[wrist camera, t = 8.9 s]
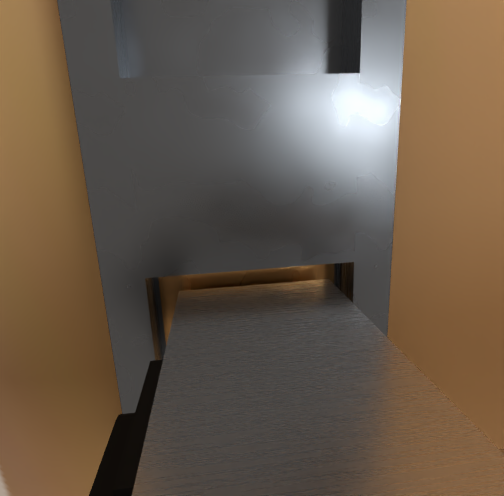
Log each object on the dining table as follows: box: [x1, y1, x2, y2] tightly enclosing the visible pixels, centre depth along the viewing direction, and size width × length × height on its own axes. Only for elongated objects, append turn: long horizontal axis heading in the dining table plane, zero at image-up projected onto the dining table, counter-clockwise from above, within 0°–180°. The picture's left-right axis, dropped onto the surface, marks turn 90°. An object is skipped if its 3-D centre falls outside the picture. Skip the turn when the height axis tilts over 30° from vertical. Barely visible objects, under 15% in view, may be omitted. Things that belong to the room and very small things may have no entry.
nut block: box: [132, 279, 504, 496], centre depth 8 cm, size 5×5×8 cm
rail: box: [57, 0, 406, 414], centre depth 11 cm, size 9×22×2 cm, turn 2°
